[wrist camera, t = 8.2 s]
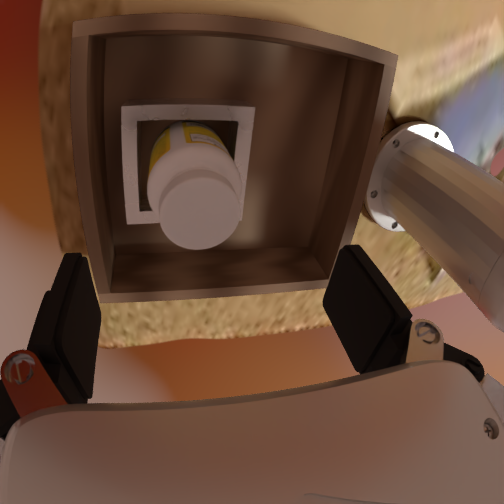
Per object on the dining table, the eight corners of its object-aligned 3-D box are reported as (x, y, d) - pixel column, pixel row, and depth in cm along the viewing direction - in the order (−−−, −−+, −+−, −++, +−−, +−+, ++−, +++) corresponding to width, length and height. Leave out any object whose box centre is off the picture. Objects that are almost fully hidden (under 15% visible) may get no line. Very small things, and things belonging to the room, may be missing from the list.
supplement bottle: (164, 194, 24) (166, 273, 16) (142, 132, 21) (125, 185, 13) (229, 174, 24) (263, 243, 17) (213, 109, 21) (241, 147, 13)
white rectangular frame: (245, 100, 21) (255, 107, 19) (234, 202, 26) (241, 220, 24) (127, 99, 19) (121, 106, 17) (130, 205, 24) (127, 224, 21)
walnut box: (353, 49, 21) (398, 55, 16) (310, 248, 32) (335, 286, 28) (96, 28, 16) (73, 21, 11) (108, 257, 27) (100, 303, 22)
